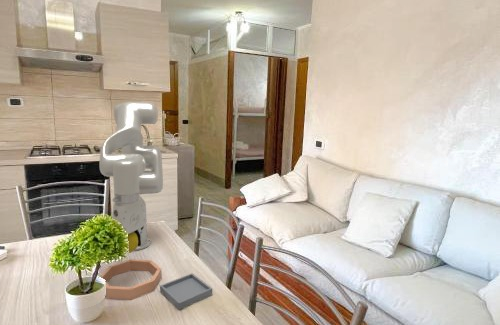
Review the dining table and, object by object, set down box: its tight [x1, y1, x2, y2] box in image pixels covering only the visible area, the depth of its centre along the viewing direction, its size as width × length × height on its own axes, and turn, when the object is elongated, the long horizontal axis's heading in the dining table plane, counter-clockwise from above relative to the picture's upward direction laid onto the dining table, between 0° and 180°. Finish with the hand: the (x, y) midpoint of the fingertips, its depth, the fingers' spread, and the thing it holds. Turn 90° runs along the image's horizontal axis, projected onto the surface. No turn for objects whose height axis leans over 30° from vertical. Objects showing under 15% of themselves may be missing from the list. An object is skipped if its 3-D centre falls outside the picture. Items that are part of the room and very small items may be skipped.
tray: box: [159, 272, 213, 311], centre depth 105 cm, size 12×12×2 cm
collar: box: [99, 258, 162, 301], centre depth 110 cm, size 18×18×4 cm
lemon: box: [128, 232, 138, 254], centre depth 108 cm, size 6×6×8 cm
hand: (129, 248), depth 108 cm, fingers closed on lemon, 5 cm apart
